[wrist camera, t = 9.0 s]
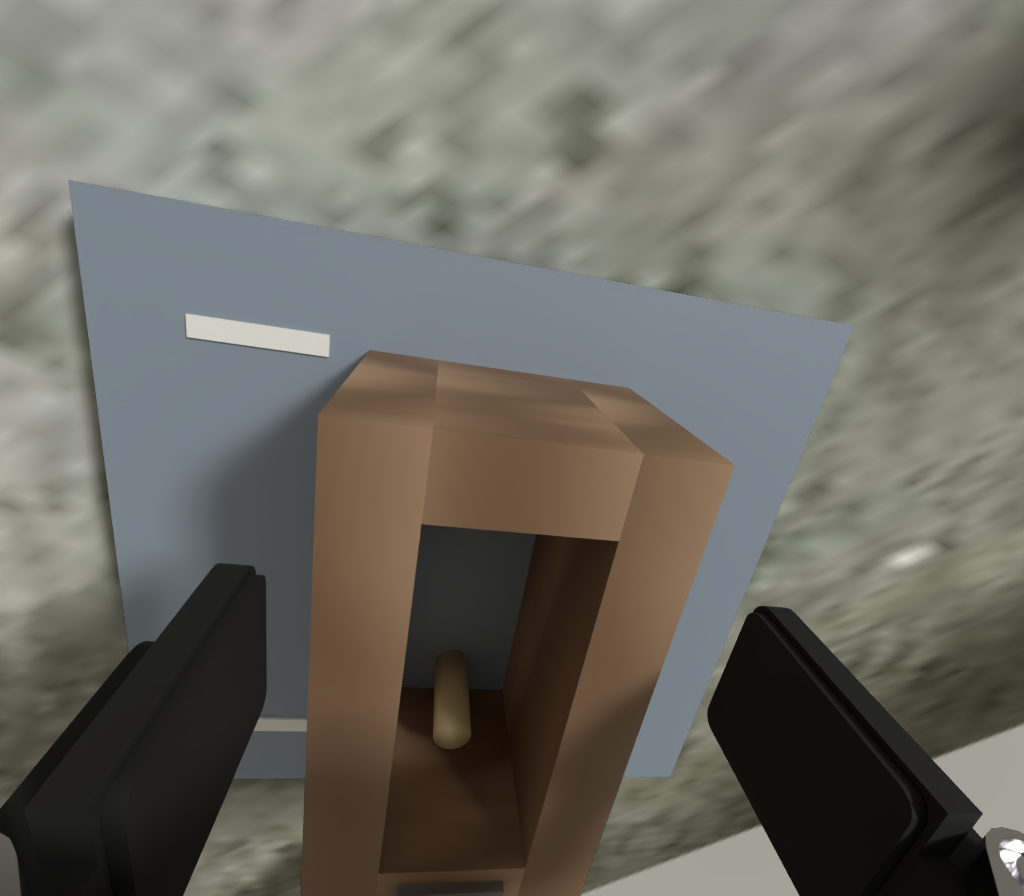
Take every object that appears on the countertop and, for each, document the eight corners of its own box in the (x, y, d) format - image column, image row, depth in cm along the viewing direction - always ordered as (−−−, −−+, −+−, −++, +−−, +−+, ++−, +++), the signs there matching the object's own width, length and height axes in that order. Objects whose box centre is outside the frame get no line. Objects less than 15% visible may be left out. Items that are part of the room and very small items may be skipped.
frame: (629, 387, 13) (742, 469, 8) (540, 726, 17) (578, 916, 12) (370, 349, 11) (314, 419, 7) (343, 723, 16) (297, 932, 11)
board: (821, 320, 14) (943, 342, 10) (657, 747, 20) (701, 851, 16) (108, 187, 11) (-53, 156, 7) (165, 744, 16) (91, 871, 13)
